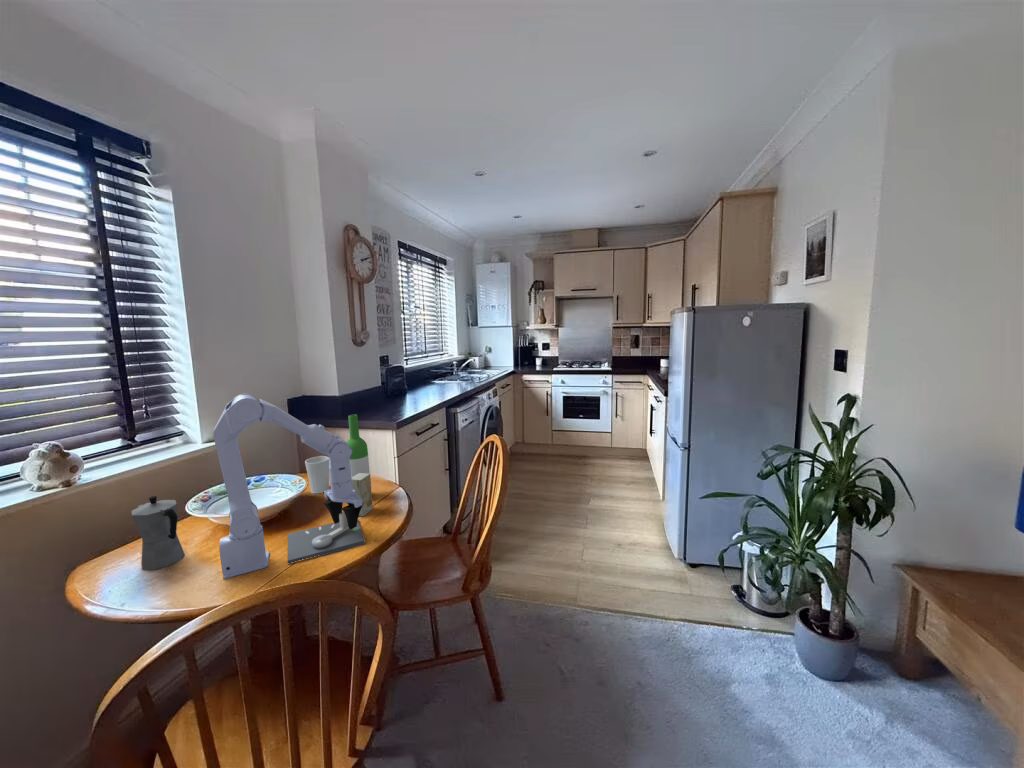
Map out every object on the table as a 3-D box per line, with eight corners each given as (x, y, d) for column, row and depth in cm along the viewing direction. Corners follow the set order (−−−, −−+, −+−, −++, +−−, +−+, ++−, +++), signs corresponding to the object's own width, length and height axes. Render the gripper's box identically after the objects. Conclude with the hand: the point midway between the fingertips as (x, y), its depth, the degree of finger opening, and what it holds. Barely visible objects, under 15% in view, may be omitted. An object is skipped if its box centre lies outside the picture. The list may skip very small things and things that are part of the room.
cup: (303, 494, 148) (299, 463, 146) (317, 485, 155) (314, 455, 154) (323, 495, 146) (319, 463, 144) (336, 486, 154) (333, 456, 152)
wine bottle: (343, 499, 143) (335, 416, 138) (363, 491, 149) (356, 411, 144) (356, 504, 138) (349, 418, 134) (376, 496, 144) (369, 414, 140)
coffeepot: (127, 564, 106) (115, 500, 103) (169, 546, 115) (159, 486, 112) (161, 577, 100) (149, 509, 97) (203, 557, 108) (193, 493, 106)
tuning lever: (320, 549, 108) (318, 531, 107) (308, 545, 110) (306, 527, 110) (360, 526, 120) (358, 510, 119) (348, 523, 122) (346, 507, 121)
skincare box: (363, 516, 129) (359, 480, 127) (350, 515, 130) (347, 479, 128) (373, 507, 135) (370, 472, 133) (362, 506, 136) (358, 472, 134)
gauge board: (287, 564, 104) (287, 560, 104) (288, 536, 118) (287, 533, 118) (365, 543, 113) (364, 539, 113) (356, 519, 127) (356, 516, 127)
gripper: (369, 480, 115) (373, 524, 117) (337, 471, 123) (341, 513, 125) (348, 489, 109) (352, 535, 111) (315, 479, 117) (320, 523, 119)
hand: (345, 524), depth 117 cm, fingers open, 6 cm apart
